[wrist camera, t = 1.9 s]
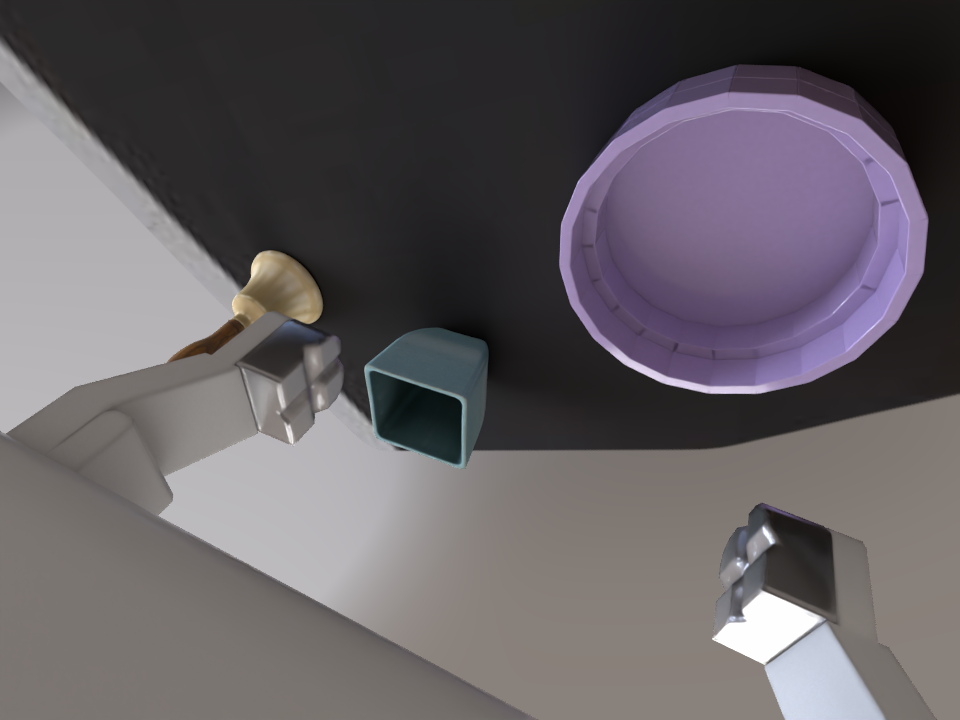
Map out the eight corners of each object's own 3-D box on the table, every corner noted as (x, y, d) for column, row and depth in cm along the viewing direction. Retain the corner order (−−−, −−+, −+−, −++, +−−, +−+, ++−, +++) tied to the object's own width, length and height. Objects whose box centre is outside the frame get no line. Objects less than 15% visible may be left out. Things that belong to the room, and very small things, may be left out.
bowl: (556, 113, 33) (523, 145, 29) (919, 9, 24) (946, 34, 20) (615, 344, 42) (596, 394, 38) (897, 330, 33) (912, 394, 29)
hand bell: (242, 244, 52) (96, 338, 41) (311, 256, 50) (173, 361, 39) (268, 314, 58) (145, 414, 47) (332, 329, 55) (217, 439, 44)
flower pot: (510, 329, 45) (466, 398, 39) (504, 401, 51) (465, 472, 45) (417, 302, 48) (362, 364, 41) (422, 374, 53) (374, 438, 47)
